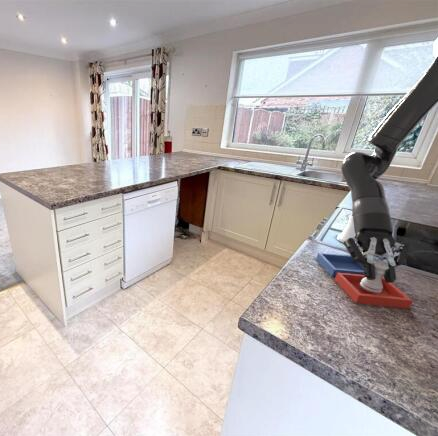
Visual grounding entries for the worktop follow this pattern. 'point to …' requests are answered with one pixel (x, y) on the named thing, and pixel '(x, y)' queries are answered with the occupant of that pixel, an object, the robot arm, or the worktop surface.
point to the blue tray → (339, 264)
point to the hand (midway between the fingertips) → (380, 280)
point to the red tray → (385, 298)
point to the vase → (348, 231)
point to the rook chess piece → (375, 284)
